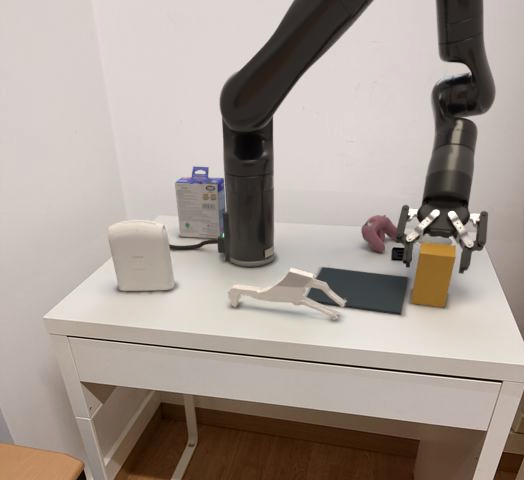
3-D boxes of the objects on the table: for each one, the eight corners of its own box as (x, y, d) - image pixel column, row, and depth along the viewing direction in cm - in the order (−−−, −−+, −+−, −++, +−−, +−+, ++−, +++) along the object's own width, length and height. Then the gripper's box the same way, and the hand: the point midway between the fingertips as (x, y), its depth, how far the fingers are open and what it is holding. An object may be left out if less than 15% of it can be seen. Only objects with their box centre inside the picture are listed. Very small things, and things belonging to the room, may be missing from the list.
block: (410, 303, 81) (419, 253, 76) (412, 290, 85) (421, 242, 80) (444, 307, 80) (455, 256, 75) (444, 294, 84) (455, 245, 79)
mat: (304, 301, 82) (305, 299, 82) (322, 268, 93) (322, 266, 93) (400, 314, 78) (400, 312, 78) (407, 279, 89) (407, 277, 89)
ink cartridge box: (228, 231, 111) (224, 166, 103) (221, 239, 107) (217, 172, 99) (187, 228, 113) (181, 164, 105) (179, 237, 109) (172, 170, 101)
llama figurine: (320, 344, 82) (227, 297, 82) (352, 292, 75) (249, 240, 75) (318, 350, 81) (223, 302, 81) (350, 297, 74) (246, 245, 74)
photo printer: (115, 292, 86) (101, 225, 79) (121, 282, 90) (108, 217, 83) (172, 292, 86) (164, 225, 79) (176, 281, 89) (168, 216, 82)
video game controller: (384, 243, 108) (374, 213, 106) (403, 237, 105) (393, 206, 103) (365, 257, 101) (354, 225, 99) (384, 252, 98) (373, 219, 96)
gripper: (406, 165, 81) (391, 255, 78) (498, 170, 77) (485, 265, 74) (404, 189, 88) (390, 272, 85) (488, 194, 84) (476, 282, 81)
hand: (434, 268), depth 80 cm, fingers open, 8 cm apart
